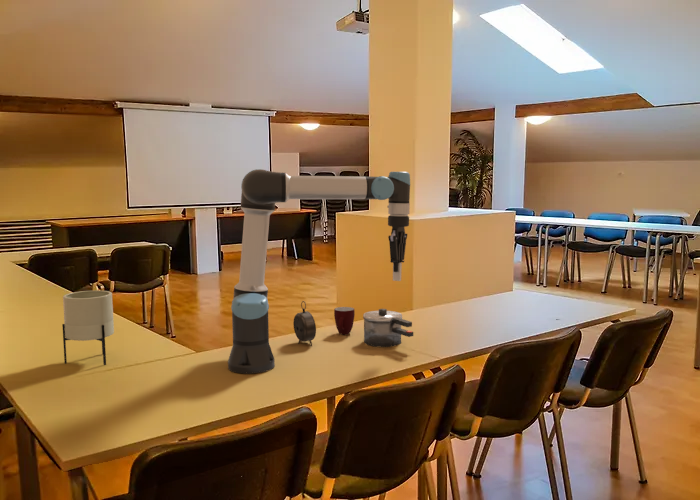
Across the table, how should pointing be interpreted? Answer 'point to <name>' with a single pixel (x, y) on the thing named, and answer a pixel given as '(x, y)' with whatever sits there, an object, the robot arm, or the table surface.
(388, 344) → the pot
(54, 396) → the table surface
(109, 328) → the planter
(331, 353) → the table surface
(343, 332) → the mug
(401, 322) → the lid
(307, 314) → the alarm clock
